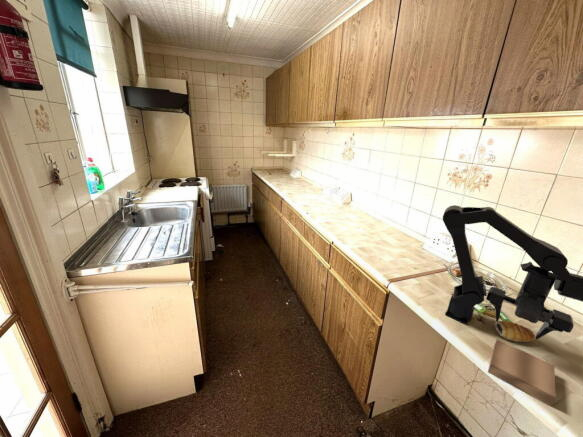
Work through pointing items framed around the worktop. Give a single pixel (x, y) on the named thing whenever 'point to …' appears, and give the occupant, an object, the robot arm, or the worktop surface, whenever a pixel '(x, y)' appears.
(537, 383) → the walnut base
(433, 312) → the worktop surface
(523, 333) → the pastry
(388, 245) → the worktop surface
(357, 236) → the worktop surface
